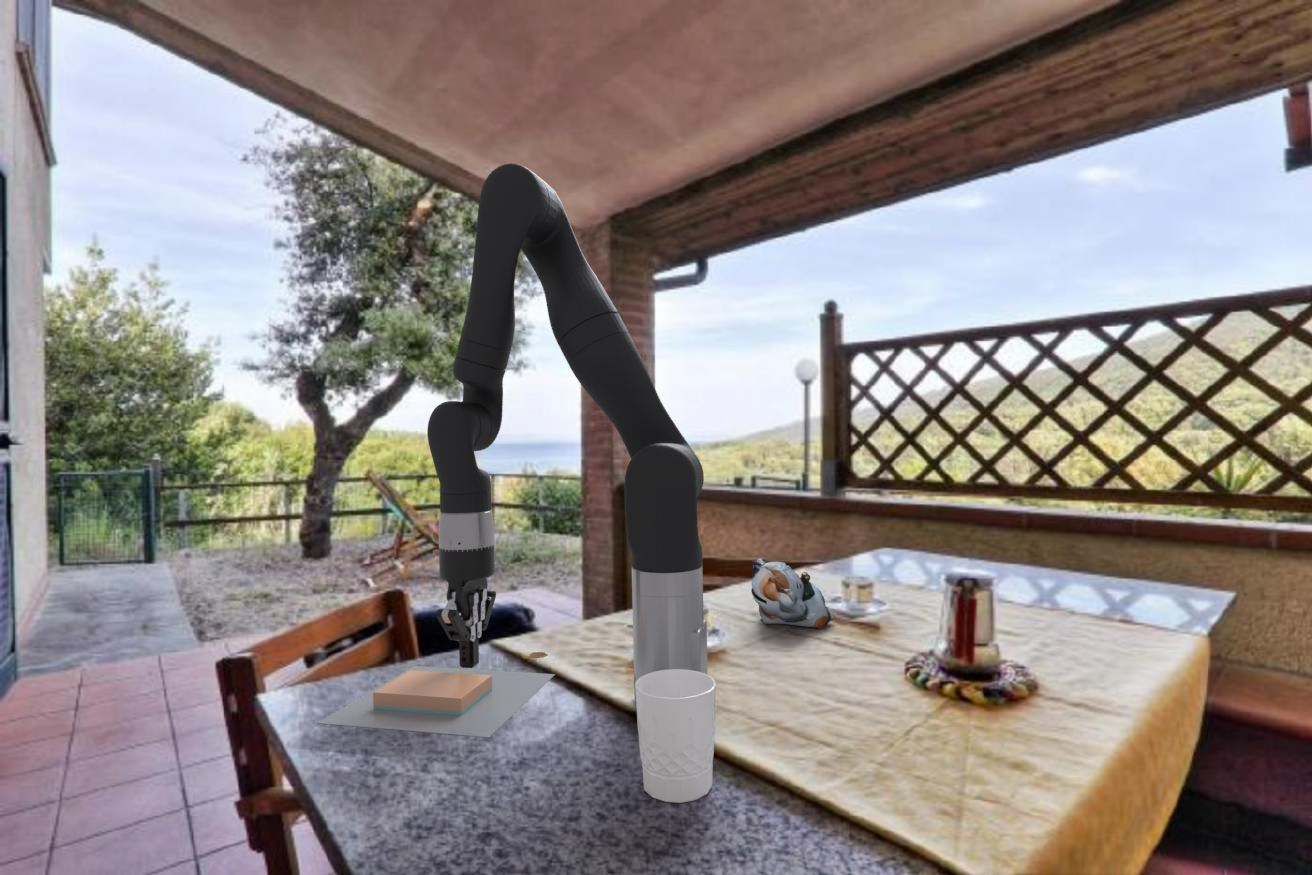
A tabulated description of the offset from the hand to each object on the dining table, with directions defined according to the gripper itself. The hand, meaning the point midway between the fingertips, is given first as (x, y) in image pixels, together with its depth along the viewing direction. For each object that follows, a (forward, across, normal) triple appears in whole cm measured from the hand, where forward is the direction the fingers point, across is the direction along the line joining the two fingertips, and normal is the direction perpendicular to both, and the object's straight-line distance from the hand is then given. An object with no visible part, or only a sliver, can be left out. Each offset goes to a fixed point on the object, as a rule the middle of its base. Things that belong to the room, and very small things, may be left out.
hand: (469, 665), depth 94 cm
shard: (+3, +10, -9) cm, 14 cm away
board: (+2, -8, -1) cm, 8 cm away
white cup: (+3, -22, -34) cm, 41 cm away
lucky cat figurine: (+3, +38, -43) cm, 57 cm away
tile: (0, -5, 0) cm, 5 cm away
